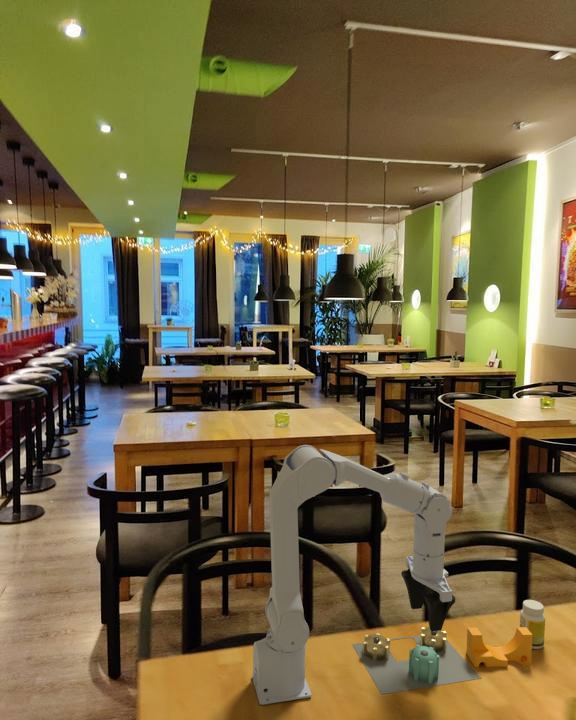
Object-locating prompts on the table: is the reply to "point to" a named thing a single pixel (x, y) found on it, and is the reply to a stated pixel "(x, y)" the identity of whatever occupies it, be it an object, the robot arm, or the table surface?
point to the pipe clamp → (499, 649)
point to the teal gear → (423, 663)
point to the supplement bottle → (534, 621)
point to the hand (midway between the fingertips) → (425, 618)
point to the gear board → (396, 674)
